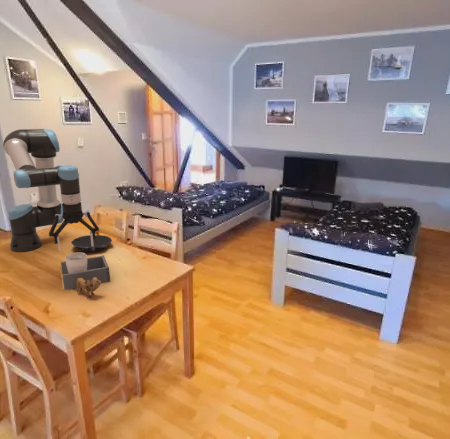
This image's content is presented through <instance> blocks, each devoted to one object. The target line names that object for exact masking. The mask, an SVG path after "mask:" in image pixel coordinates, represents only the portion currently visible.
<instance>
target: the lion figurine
mask: <svg viewBox="0 0 450 439" xmlns="http://www.w3.org/2000/svg"><path fill="white" fill-rule="evenodd" d="M101 284H102V283H101V281H100V280H98V279H97V278H92V279H90V280H87V281H85V280H84V279H83V278H78V279H77V282H76V287H77V288H76V287H75V288H72V290H76V289H77V290H76V291H77V295H78V296H79V295H81V292H80V291H81V290H85V292H86V295H87V299H91V298H92V297H91V296H95V293H94V292H95V291H96V290H97V289H98V288H100V285H101Z"/></svg>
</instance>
